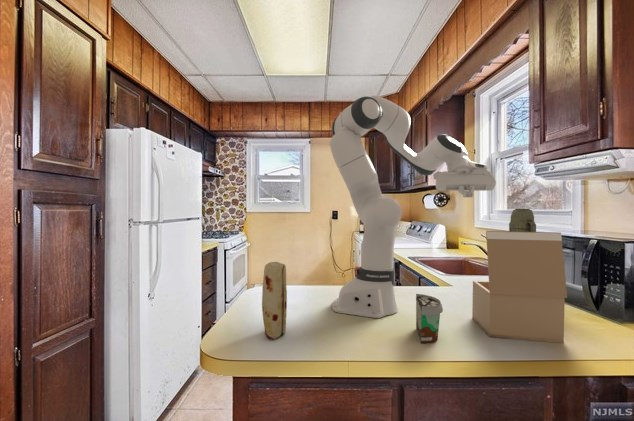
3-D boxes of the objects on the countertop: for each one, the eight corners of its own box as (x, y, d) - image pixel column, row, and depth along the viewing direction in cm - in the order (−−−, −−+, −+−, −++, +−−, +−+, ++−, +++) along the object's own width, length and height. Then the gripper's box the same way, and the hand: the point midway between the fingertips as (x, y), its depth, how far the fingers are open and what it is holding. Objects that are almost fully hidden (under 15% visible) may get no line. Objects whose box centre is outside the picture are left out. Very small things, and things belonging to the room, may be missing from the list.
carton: (489, 337, 82) (490, 293, 82) (472, 318, 96) (472, 280, 95) (563, 342, 79) (564, 297, 79) (534, 322, 92) (535, 283, 92)
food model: (264, 327, 87) (265, 259, 87) (287, 327, 87) (288, 259, 87) (259, 343, 77) (259, 265, 77) (285, 342, 78) (285, 265, 77)
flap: (489, 293, 82) (490, 293, 81) (486, 231, 84) (487, 231, 84) (565, 297, 78) (567, 297, 78) (559, 232, 81) (561, 232, 81)
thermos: (517, 292, 124) (518, 208, 124) (543, 301, 113) (545, 208, 112) (498, 293, 123) (500, 208, 122) (524, 303, 111) (526, 208, 110)
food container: (447, 348, 75) (447, 308, 75) (421, 346, 76) (422, 307, 76) (437, 328, 87) (438, 294, 87) (415, 326, 88) (416, 293, 88)
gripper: (434, 165, 116) (439, 189, 106) (491, 164, 112) (502, 189, 103) (431, 178, 120) (436, 202, 111) (486, 177, 117) (496, 202, 107)
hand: (468, 196), depth 107 cm, fingers closed
